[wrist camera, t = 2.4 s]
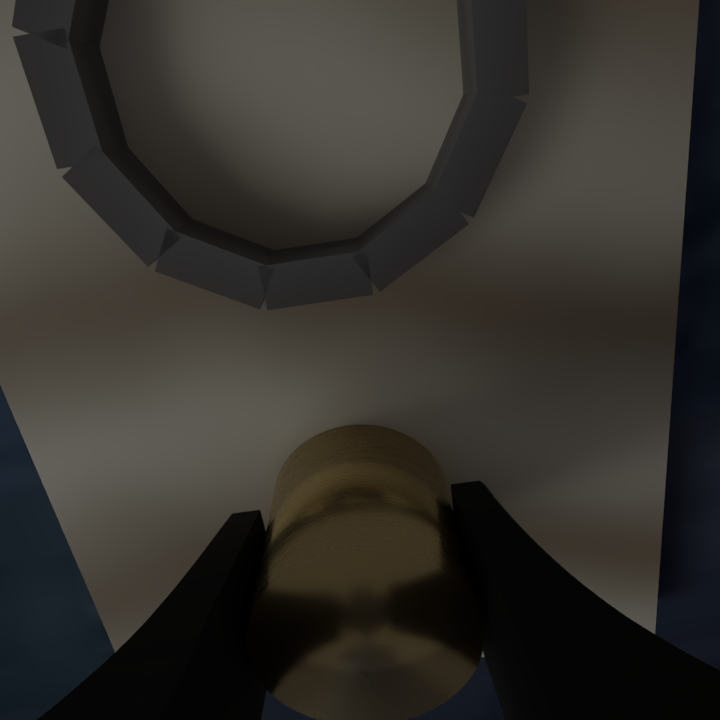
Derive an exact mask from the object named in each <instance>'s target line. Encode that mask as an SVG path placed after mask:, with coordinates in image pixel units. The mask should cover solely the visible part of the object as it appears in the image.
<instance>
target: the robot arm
mask: <svg viewBox="0 0 720 720" xmlns="http://www.w3.org/2000/svg"><path fill="white" fill-rule="evenodd" d="M451 493H452V503H453V512H454V516H455V519H456V523H457V527H458V531H459V535H460V538H461V542H462V546H463V549H464V553H465V556H466V560H467V564H468V568H469V572H470V575H471V579H472V583H473V587H474V591H475V594H476V598H477V602H478V606H479V609H480V613H481V617H482V621H483V627H484V646H483V653H484V656H485V659H486V662H487V665H488V668H489V672H490V675H491V678H492V681H493V684H494V687H495V690H496V693H497V696H498V699H499V702H500V705H501V708H502V711H503V715H504V718H505V720H720V671H719V670H717V669H715V668H713V667H712V666H710V665H708V664H706V663H704V662H702V661H700V660H699V659H697V658H695V657H693V656H691V655H689V654H688V653H686V652H684V651H682V650H680V649H678V648H677V647H675V646H673V645H672V644H670V643H668V642H666V641H665V640H663V639H662V638H660V637H658V636H657V635H655V634H654V633H652V632H650V631H649V630H647V629H646V628H644V627H642V626H641V625H639V624H638V623H636V622H635V621H633V620H631V619H630V618H628V617H627V616H625V615H624V614H622V613H621V612H620V611H618V610H617V609H615V608H614V607H612V606H611V605H610V604H608V603H607V602H605V601H604V600H603V599H602V598H600V597H599V596H598V595H596V594H595V593H594V592H592V591H591V590H590V589H588V588H587V587H586V586H585V585H583V584H582V583H581V582H580V581H578V580H577V579H576V578H575V577H574V576H573V575H571V574H570V573H569V572H568V571H567V570H566V569H564V568H563V567H562V566H561V565H560V564H559V563H558V562H557V561H555V560H554V559H553V558H552V557H551V556H550V555H549V554H548V553H547V552H546V551H545V550H544V549H542V548H541V547H540V546H539V545H538V544H537V543H536V542H535V541H534V540H533V539H532V538H531V537H530V536H529V535H528V534H527V533H526V532H525V531H524V529H523V528H522V527H521V526H520V525H519V524H518V523H517V522H516V521H515V520H514V519H513V518H512V517H511V516H510V514H509V513H508V512H507V511H506V510H505V509H504V508H503V506H502V505H501V504H500V503H499V502H498V501H497V499H496V498H495V497H494V496H493V494H492V493H491V492H490V490H489V489H488V488H487V486H486V485H485V484H484V483H482V482H481V481H472V482H465V483H457V484H451ZM265 535H266V530H265V526H264V522H263V519H262V515H261V511H260V510H254V511H247V512H239V513H232V514H231V516H230V517H229V518H228V519H227V521H226V522H225V523H224V525H223V526H222V527H221V528H220V530H219V531H218V532H217V534H216V535H215V536H214V538H213V539H212V540H211V542H210V543H209V545H208V546H207V547H206V549H205V550H204V551H203V552H202V554H201V555H200V556H199V558H198V559H197V560H196V562H195V563H194V564H193V565H192V567H191V568H190V569H189V571H188V572H187V573H186V574H185V576H184V577H183V578H182V579H181V581H180V582H179V583H178V584H177V586H176V587H175V588H174V589H173V591H172V592H171V593H170V594H169V595H168V596H167V598H166V599H165V600H164V601H163V602H162V603H161V604H160V606H159V607H158V608H157V609H156V610H155V611H154V613H153V614H152V615H151V616H150V617H149V618H148V619H147V621H146V622H145V623H144V624H143V625H142V626H141V627H140V628H139V629H138V630H137V631H136V632H135V633H134V634H133V635H132V636H131V637H130V638H129V639H128V640H127V641H126V642H125V643H124V644H123V645H122V646H121V647H120V648H119V649H118V650H117V651H116V652H115V653H114V654H113V655H112V656H111V657H110V658H109V659H108V660H107V661H106V662H105V663H104V664H102V665H101V666H100V667H99V668H98V669H97V670H96V671H95V672H93V673H92V674H91V675H90V676H89V677H88V678H87V679H85V680H84V681H83V682H82V683H81V684H80V685H78V686H77V687H76V688H75V689H74V690H73V691H71V692H70V693H69V694H68V695H67V696H66V697H65V698H63V699H62V700H61V701H60V702H59V703H58V704H56V705H55V706H54V707H53V708H51V709H50V710H49V711H48V712H46V713H45V714H44V715H42V716H41V717H40V718H39V719H37V720H261V716H262V710H263V705H264V699H265V694H266V688H265V687H264V686H263V685H262V683H261V682H260V681H259V679H258V678H257V676H256V674H255V673H254V671H253V669H252V666H251V664H250V661H249V658H248V653H247V648H246V635H247V628H248V622H249V617H250V612H251V607H252V602H253V597H254V591H255V586H256V581H257V576H258V571H259V566H260V560H261V555H262V550H263V545H264V540H265Z"/></svg>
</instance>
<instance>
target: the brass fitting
mask: <svg viewBox="0 0 720 720" xmlns="http://www.w3.org/2000/svg"><path fill="white" fill-rule="evenodd" d="M483 646H484V627H483V621H482V617H481V613H480V609H479V606H478V602H477V598H476V594H475V591H474V587H473V583H472V579H471V575H470V572H469V568H468V564H467V560H466V556H465V553H464V549H463V546H462V542H461V538H460V535H459V531H458V527H457V523H456V519H455V516H454V512H453V507H452V503H451V499H450V496H449V492H448V488H447V484H446V480H445V477H444V475H443V472H442V469H441V468H440V466H439V464H438V462H437V461H436V459H435V458H434V457H433V455H432V454H431V453H430V452H429V451H428V450H427V449H426V448H425V447H424V446H423V445H422V444H420V443H419V442H418V441H416V440H415V439H413V438H411V437H410V436H408V435H406V434H404V433H401V432H399V431H397V430H394V429H390V428H387V427H383V426H376V425H363V424H358V425H347V426H342V427H336V428H333V429H330V430H327V431H324V432H322V433H320V434H318V435H315V436H313V437H312V438H310V439H309V440H307V441H305V442H304V443H303V444H301V445H300V446H299V447H298V448H297V449H295V451H294V452H293V453H292V454H291V455H290V456H289V457H288V458H287V460H286V461H285V463H284V464H283V466H282V468H281V470H280V472H279V474H278V477H277V480H276V483H275V488H274V493H273V498H272V503H271V509H270V514H269V519H268V524H267V529H266V535H265V540H264V545H263V550H262V555H261V560H260V566H259V571H258V576H257V581H256V586H255V591H254V597H253V602H252V607H251V612H250V617H249V622H248V628H247V635H246V648H247V653H248V658H249V661H250V664H251V666H252V669H253V671H254V673H255V674H256V676H257V678H258V679H259V681H260V682H261V683H262V685H263V686H264V687H265V688H266V689H267V690H268V691H269V692H270V693H271V694H272V695H273V696H274V697H275V698H276V699H278V700H279V701H281V702H282V703H283V704H285V705H286V706H288V707H290V708H292V709H293V710H295V711H297V712H299V713H301V714H304V715H306V716H309V717H311V718H314V719H318V720H407V719H411V718H413V717H416V716H419V715H422V714H424V713H426V712H428V711H430V710H432V709H434V708H436V707H438V706H439V705H441V704H443V703H444V702H446V701H447V700H448V699H450V698H451V697H452V696H454V695H455V694H456V693H457V692H458V691H459V690H460V689H461V688H462V687H463V686H464V685H465V684H466V683H467V681H468V680H469V679H470V677H471V676H472V675H473V673H474V671H475V669H476V668H477V666H478V664H479V661H480V658H481V655H482V652H483Z"/></svg>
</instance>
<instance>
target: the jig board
mask: <svg viewBox="0 0 720 720" xmlns="http://www.w3.org/2000/svg"><path fill="white" fill-rule="evenodd" d="M698 12H699V0H0V385H1V387H2V390H3V392H4V394H5V397H6V399H7V401H8V404H9V406H10V408H11V411H12V413H13V415H14V418H15V420H16V422H17V425H18V427H19V429H20V432H21V434H22V436H23V439H24V441H25V443H26V446H27V448H28V450H29V453H30V455H31V457H32V460H33V462H34V464H35V467H36V469H37V471H38V474H39V476H40V478H41V480H42V483H43V485H44V487H45V490H46V492H47V494H48V497H49V499H50V501H51V504H52V506H53V508H54V511H55V513H56V515H57V518H58V520H59V522H60V525H61V527H62V529H63V532H64V534H65V536H66V539H67V541H68V543H69V546H70V548H71V550H72V553H73V555H74V557H75V560H76V562H77V564H78V567H79V569H80V571H81V573H82V576H83V578H84V580H85V583H86V585H87V587H88V590H89V592H90V594H91V597H92V599H93V601H94V604H95V606H96V608H97V611H98V613H99V615H100V618H101V620H102V622H103V625H104V627H105V629H106V632H107V634H108V636H109V639H110V641H111V643H112V646H113V648H114V650H115V652H116V651H117V650H118V649H119V648H120V647H121V646H122V645H123V644H124V643H125V642H126V641H127V640H128V639H129V638H130V637H131V636H132V635H133V634H134V633H135V632H136V631H137V630H138V629H139V628H140V627H141V626H142V625H143V624H144V623H145V622H146V621H147V619H148V618H149V617H150V616H151V615H152V614H153V613H154V611H155V610H156V609H157V608H158V607H159V606H160V604H161V603H162V602H163V601H164V600H165V599H166V598H167V596H168V595H169V594H170V593H171V592H172V591H173V589H174V588H175V587H176V586H177V584H178V583H179V582H180V581H181V579H182V578H183V577H184V576H185V574H186V573H187V572H188V571H189V569H190V568H191V567H192V565H193V564H194V563H195V562H196V560H197V559H198V558H199V556H200V555H201V554H202V552H203V551H204V550H205V549H206V547H207V546H208V545H209V543H210V542H211V540H212V539H213V538H214V536H215V535H216V534H217V532H218V531H219V530H220V528H221V527H222V526H223V525H224V523H225V522H226V521H227V519H228V518H229V517H230V516H231V514H232V513H239V512H247V511H254V510H260V511H261V515H262V519H263V522H264V526H265V530H266V529H267V524H268V519H269V514H270V509H271V503H272V498H273V493H274V488H275V483H276V480H277V477H278V474H279V472H280V470H281V468H282V466H283V464H284V463H285V461H286V460H287V458H288V457H289V456H290V455H291V454H292V453H293V452H294V451H295V449H297V448H298V447H299V446H300V445H301V444H303V443H304V442H305V441H307V440H309V439H310V438H312V437H313V436H315V435H318V434H320V433H322V432H324V431H327V430H330V429H333V428H336V427H342V426H347V425H358V424H363V425H376V426H383V427H387V428H390V429H394V430H397V431H399V432H401V433H404V434H406V435H408V436H410V437H411V438H413V439H415V440H416V441H418V442H419V443H420V444H422V445H423V446H424V447H425V448H426V449H427V450H428V451H429V452H430V453H431V454H432V455H433V457H434V458H435V459H436V461H437V462H438V464H439V466H440V468H441V469H442V472H443V475H444V477H445V480H446V484H447V488H448V492H449V496H450V499H451V503H452V493H451V484H457V483H465V482H472V481H481V482H482V483H484V484H485V485H486V486H487V488H488V489H489V490H490V492H491V493H492V494H493V496H494V497H495V498H496V499H497V501H498V502H499V503H500V504H501V505H502V506H503V508H504V509H505V510H506V511H507V512H508V513H509V514H510V516H511V517H512V518H513V519H514V520H515V521H516V522H517V523H518V524H519V525H520V526H521V527H522V528H523V529H524V531H525V532H526V533H527V534H528V535H529V536H530V537H531V538H532V539H533V540H534V541H535V542H536V543H537V544H538V545H539V546H540V547H541V548H542V549H544V550H545V551H546V552H547V553H548V554H549V555H550V556H551V557H552V558H553V559H554V560H555V561H557V562H558V563H559V564H560V565H561V566H562V567H563V568H564V569H566V570H567V571H568V572H569V573H570V574H571V575H573V576H574V577H575V578H576V579H577V580H578V581H580V582H581V583H582V584H583V585H585V586H586V587H587V588H588V589H590V590H591V591H592V592H594V593H595V594H596V595H598V596H599V597H600V598H602V599H603V600H604V601H605V602H607V603H608V604H610V605H611V606H612V607H614V608H615V609H617V610H618V611H620V612H621V613H622V614H624V615H625V616H627V617H628V618H630V619H631V620H633V621H635V622H636V623H638V624H639V625H641V626H642V627H644V628H646V629H647V630H649V631H650V632H652V633H654V634H655V626H656V612H657V598H658V584H659V569H660V555H661V541H662V526H663V512H664V498H665V484H666V469H667V455H668V441H669V427H670V412H671V398H672V384H673V369H674V355H675V341H676V327H677V312H678V298H679V284H680V269H681V255H682V241H683V227H684V212H685V198H686V184H687V170H688V155H689V141H690V127H691V112H692V98H693V84H694V70H695V55H696V41H697V27H698ZM452 507H453V503H452ZM481 657H485V656H484V653H483V652H482V655H481Z"/></svg>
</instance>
